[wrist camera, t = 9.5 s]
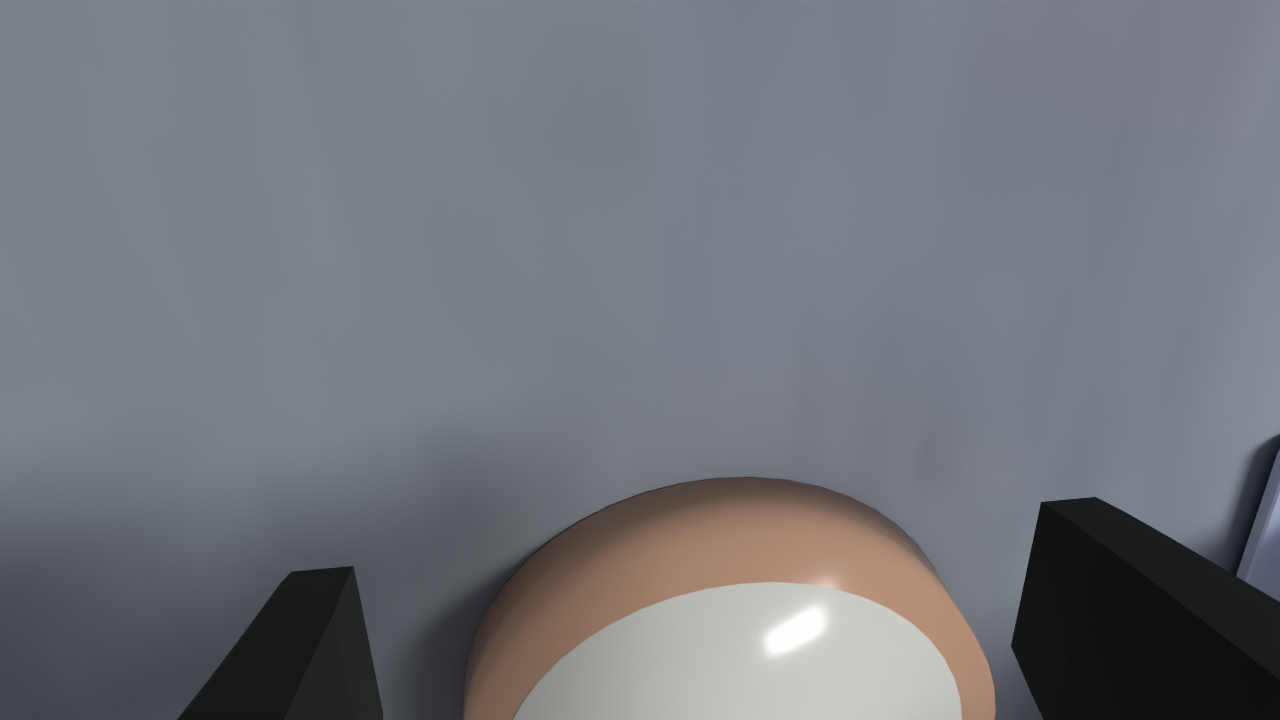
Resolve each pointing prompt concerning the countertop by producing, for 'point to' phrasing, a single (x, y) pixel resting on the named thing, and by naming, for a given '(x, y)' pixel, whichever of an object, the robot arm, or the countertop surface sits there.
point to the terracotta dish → (728, 616)
